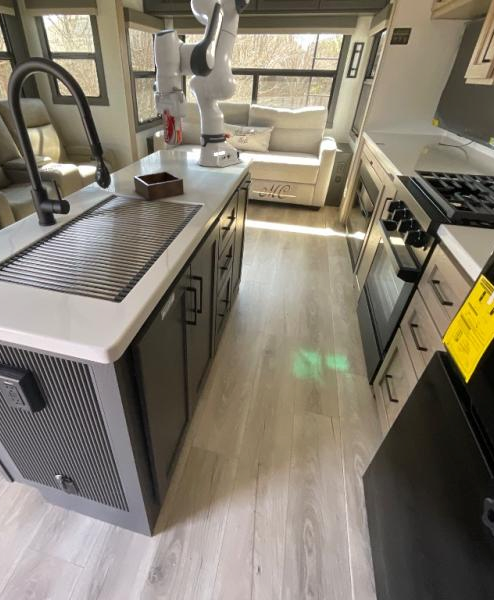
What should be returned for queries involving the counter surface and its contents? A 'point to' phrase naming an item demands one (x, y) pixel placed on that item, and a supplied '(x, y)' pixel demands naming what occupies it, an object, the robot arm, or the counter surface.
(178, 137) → the soda can
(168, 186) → the box
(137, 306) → the counter surface
